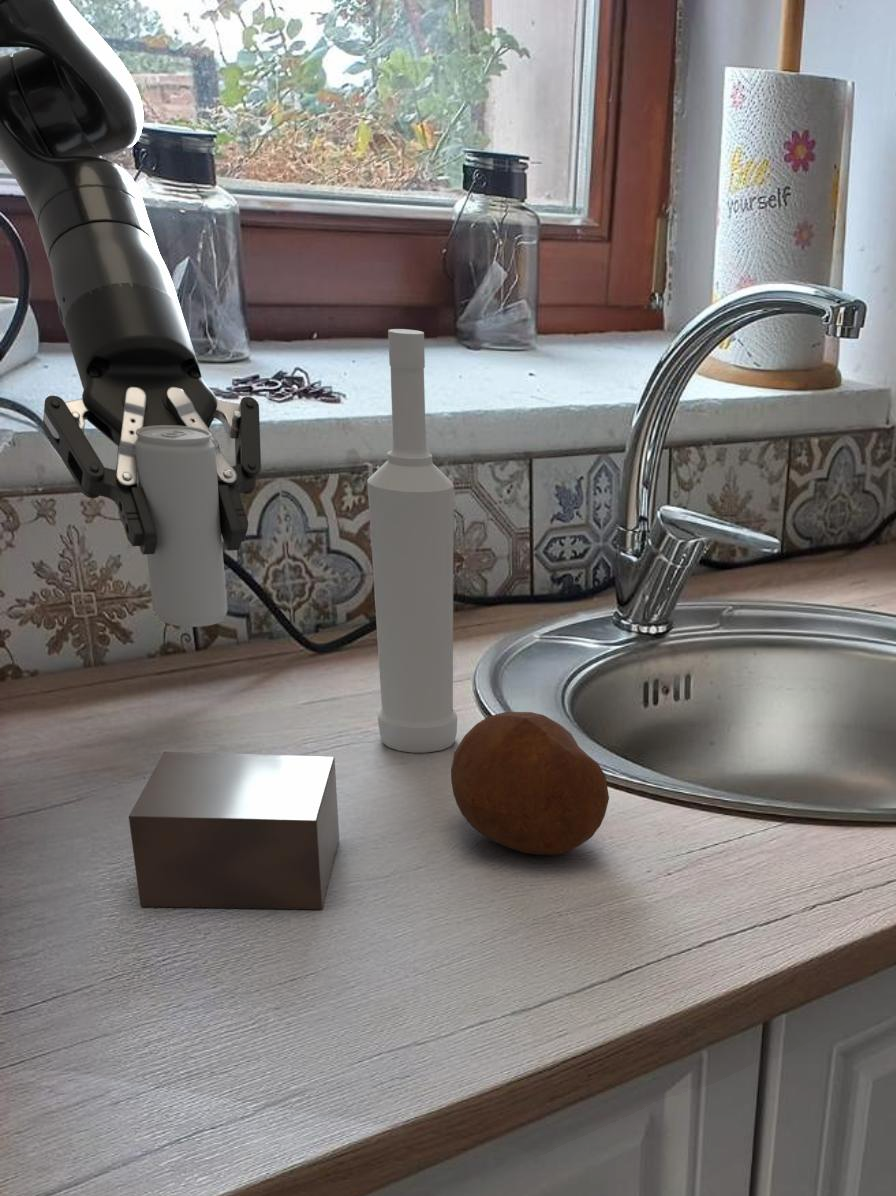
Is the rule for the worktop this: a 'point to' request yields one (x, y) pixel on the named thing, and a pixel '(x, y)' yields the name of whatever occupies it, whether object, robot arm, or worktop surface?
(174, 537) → the beverage can
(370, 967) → the worktop surface
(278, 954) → the worktop surface
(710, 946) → the worktop surface
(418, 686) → the bottle
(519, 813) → the potato
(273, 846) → the metal block
